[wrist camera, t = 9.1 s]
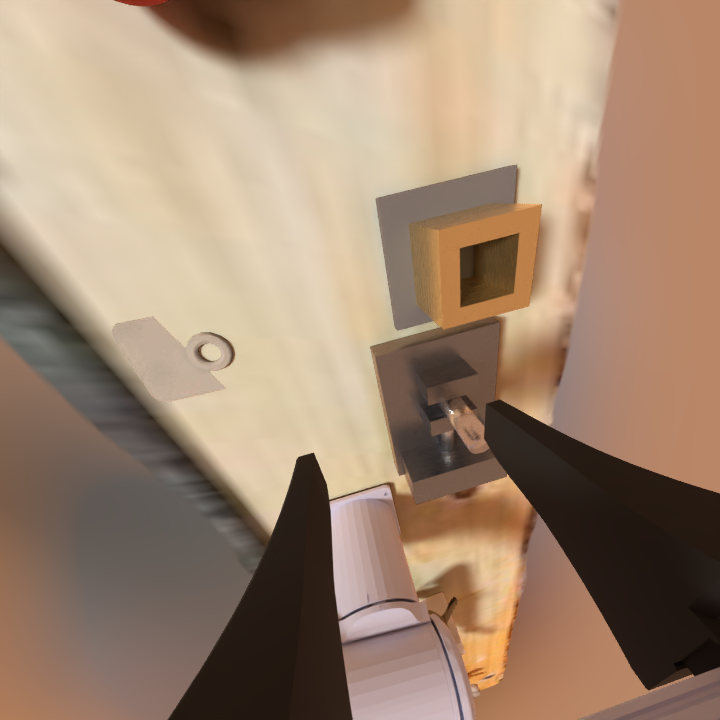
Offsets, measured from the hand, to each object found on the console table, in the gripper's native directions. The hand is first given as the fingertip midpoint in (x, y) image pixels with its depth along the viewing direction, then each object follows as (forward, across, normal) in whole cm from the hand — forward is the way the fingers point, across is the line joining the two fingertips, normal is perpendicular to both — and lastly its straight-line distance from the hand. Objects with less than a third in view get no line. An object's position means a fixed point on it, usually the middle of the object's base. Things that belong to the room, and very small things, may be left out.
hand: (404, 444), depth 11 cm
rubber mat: (+10, -7, -4) cm, 13 cm away
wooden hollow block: (+9, -7, -4) cm, 12 cm away
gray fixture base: (+10, -5, +7) cm, 13 cm away
